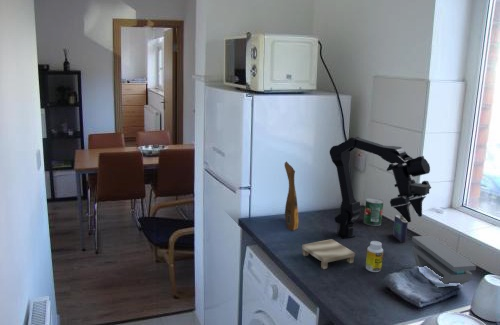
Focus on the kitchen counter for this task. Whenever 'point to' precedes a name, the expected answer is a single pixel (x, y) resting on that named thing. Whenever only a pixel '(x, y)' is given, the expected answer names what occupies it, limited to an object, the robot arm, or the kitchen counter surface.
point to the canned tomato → (373, 211)
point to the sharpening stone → (442, 260)
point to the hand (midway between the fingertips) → (415, 219)
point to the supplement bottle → (374, 256)
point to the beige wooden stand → (328, 252)
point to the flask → (400, 228)
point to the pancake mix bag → (291, 201)
